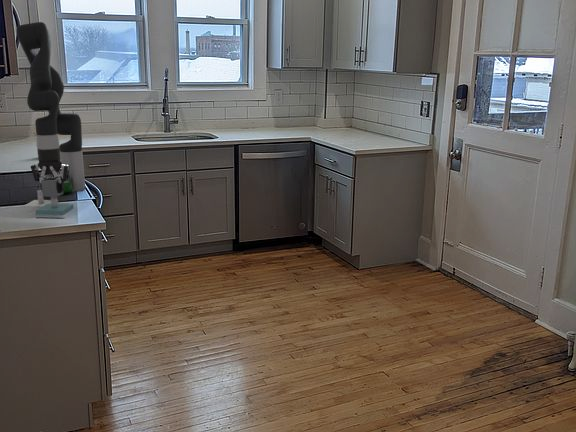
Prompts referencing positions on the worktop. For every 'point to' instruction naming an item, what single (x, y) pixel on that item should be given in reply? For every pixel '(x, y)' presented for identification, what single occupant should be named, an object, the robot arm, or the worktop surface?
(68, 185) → the clamp
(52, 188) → the metal collar
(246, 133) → the worktop surface
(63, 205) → the block
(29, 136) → the worktop surface
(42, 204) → the rod stand
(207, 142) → the worktop surface
